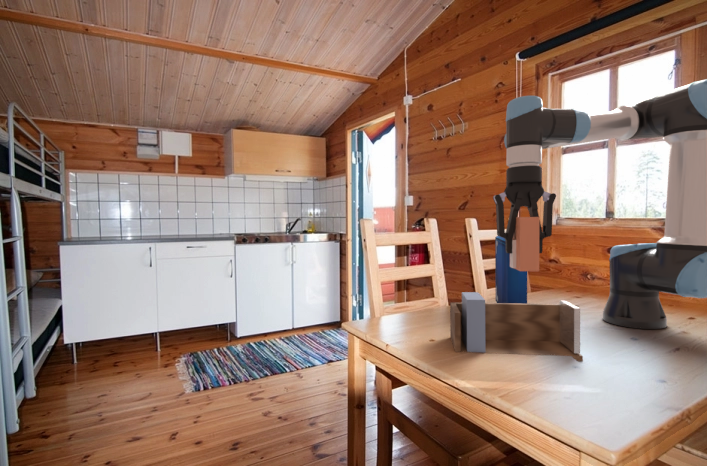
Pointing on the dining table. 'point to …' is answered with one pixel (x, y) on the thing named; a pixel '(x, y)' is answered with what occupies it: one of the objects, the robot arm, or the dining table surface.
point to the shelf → (515, 329)
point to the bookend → (570, 326)
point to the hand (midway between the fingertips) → (523, 267)
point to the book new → (527, 243)
